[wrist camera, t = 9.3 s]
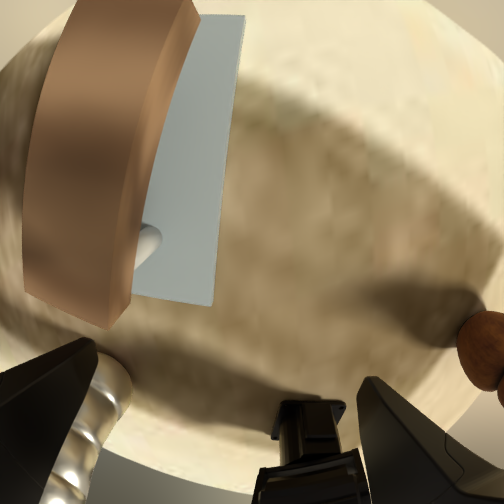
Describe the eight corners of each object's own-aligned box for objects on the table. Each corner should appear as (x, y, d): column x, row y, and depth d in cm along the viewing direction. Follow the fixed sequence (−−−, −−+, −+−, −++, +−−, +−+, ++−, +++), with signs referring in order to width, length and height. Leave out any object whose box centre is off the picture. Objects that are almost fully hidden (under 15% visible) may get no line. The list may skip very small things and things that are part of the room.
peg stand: (213, 300, 21) (200, 339, 16) (75, 275, 21) (41, 302, 16) (245, 21, 14) (240, -15, 10) (91, 33, 14) (56, 14, 10)
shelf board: (130, 303, 16) (108, 330, 13) (52, 272, 15) (24, 291, 12) (201, 19, 11) (187, -8, 8) (104, 17, 10) (78, -2, 7)
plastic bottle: (131, 349, 23) (31, 544, 4) (145, 399, 25) (81, 566, 6) (75, 337, 23) (-36, 490, 4) (92, 386, 25) (15, 528, 6)
